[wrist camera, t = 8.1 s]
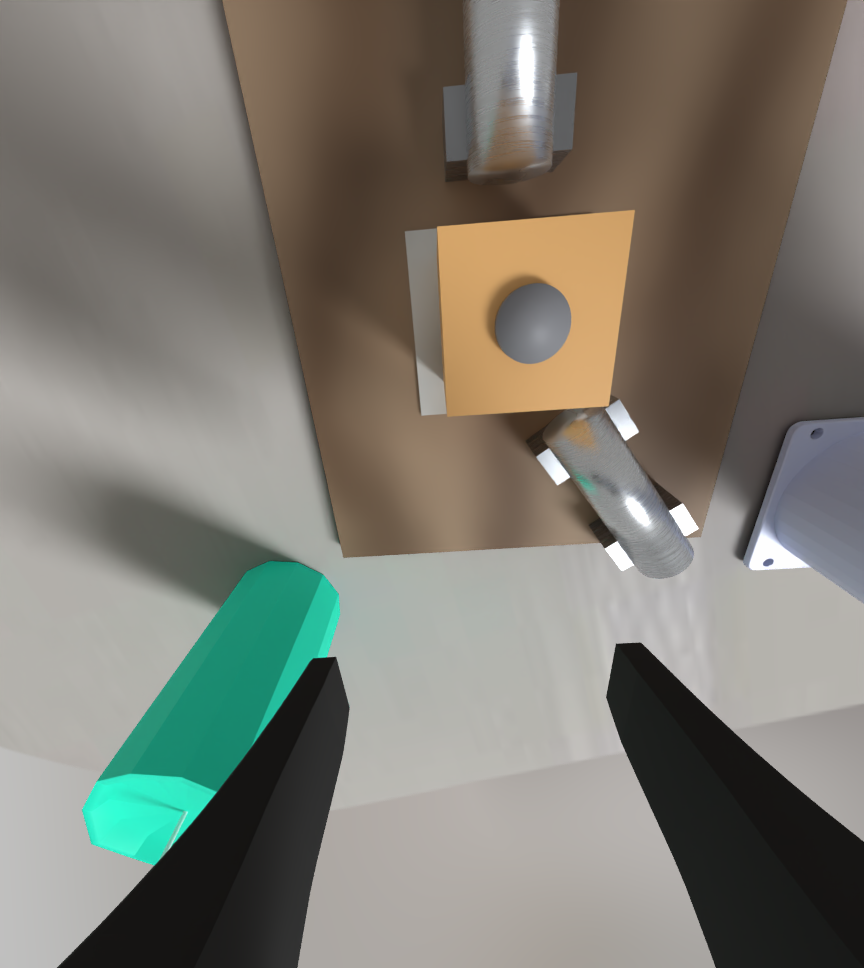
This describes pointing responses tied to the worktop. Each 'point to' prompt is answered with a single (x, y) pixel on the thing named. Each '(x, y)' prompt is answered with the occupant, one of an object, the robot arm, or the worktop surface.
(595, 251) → the tan wooden block
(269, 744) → the robot arm
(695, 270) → the board
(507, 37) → the shaft
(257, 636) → the candle
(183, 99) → the worktop surface
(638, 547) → the shaft
